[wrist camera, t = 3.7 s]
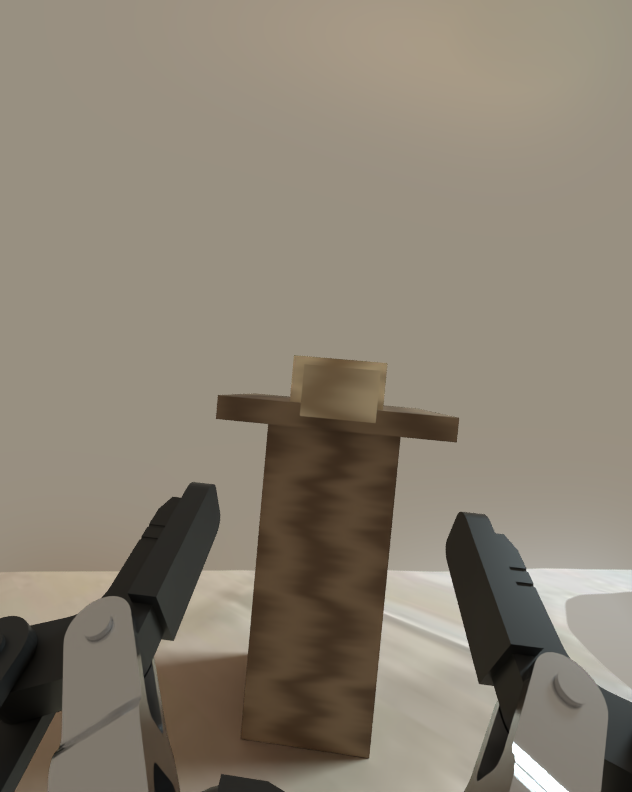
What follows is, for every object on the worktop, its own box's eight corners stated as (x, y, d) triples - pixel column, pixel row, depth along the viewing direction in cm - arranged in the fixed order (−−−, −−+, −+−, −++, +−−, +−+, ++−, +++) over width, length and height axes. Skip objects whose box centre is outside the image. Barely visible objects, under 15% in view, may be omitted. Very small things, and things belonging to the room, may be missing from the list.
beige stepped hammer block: (372, 405, 36) (375, 369, 36) (425, 427, 15) (434, 339, 15) (299, 398, 36) (302, 362, 36) (251, 411, 15) (259, 325, 15)
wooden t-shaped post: (392, 667, 40) (418, 408, 39) (420, 799, 27) (459, 417, 26) (233, 645, 41) (255, 393, 41) (187, 762, 28) (217, 395, 28)
